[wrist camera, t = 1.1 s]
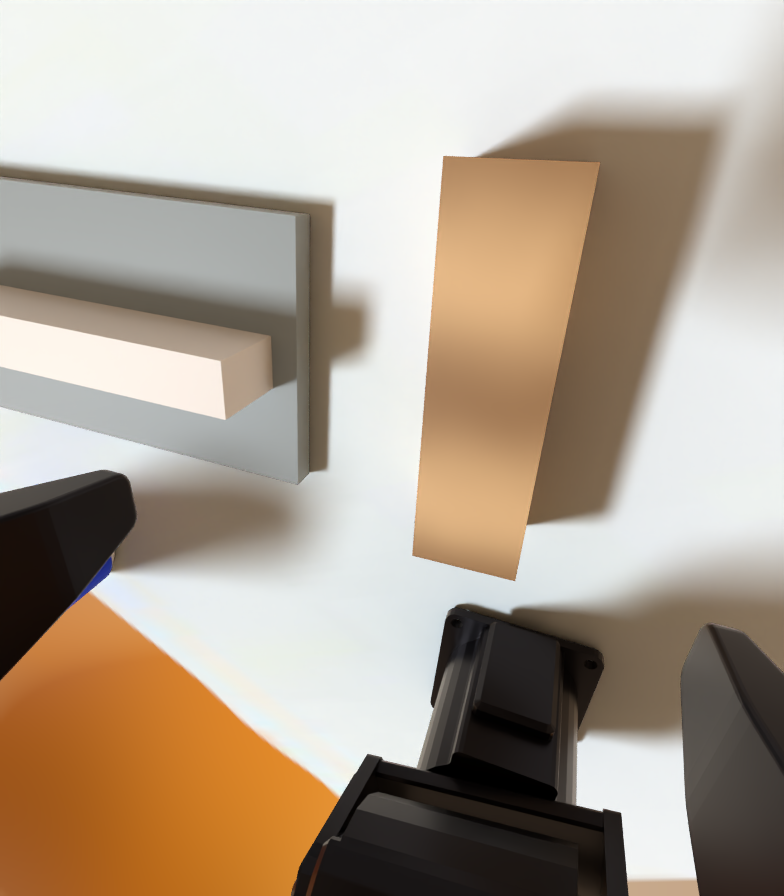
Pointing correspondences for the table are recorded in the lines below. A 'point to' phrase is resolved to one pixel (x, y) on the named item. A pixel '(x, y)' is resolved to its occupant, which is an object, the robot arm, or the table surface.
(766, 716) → the robot arm
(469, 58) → the table surface
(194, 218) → the stand
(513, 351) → the oak bar
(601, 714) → the table surface
